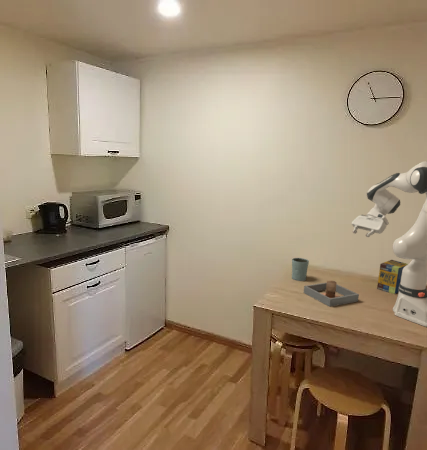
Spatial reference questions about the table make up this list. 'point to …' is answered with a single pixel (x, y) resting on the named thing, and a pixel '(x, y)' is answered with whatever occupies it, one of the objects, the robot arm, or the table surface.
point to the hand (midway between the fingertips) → (360, 234)
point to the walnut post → (331, 289)
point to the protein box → (390, 276)
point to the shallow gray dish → (347, 298)
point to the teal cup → (299, 269)
